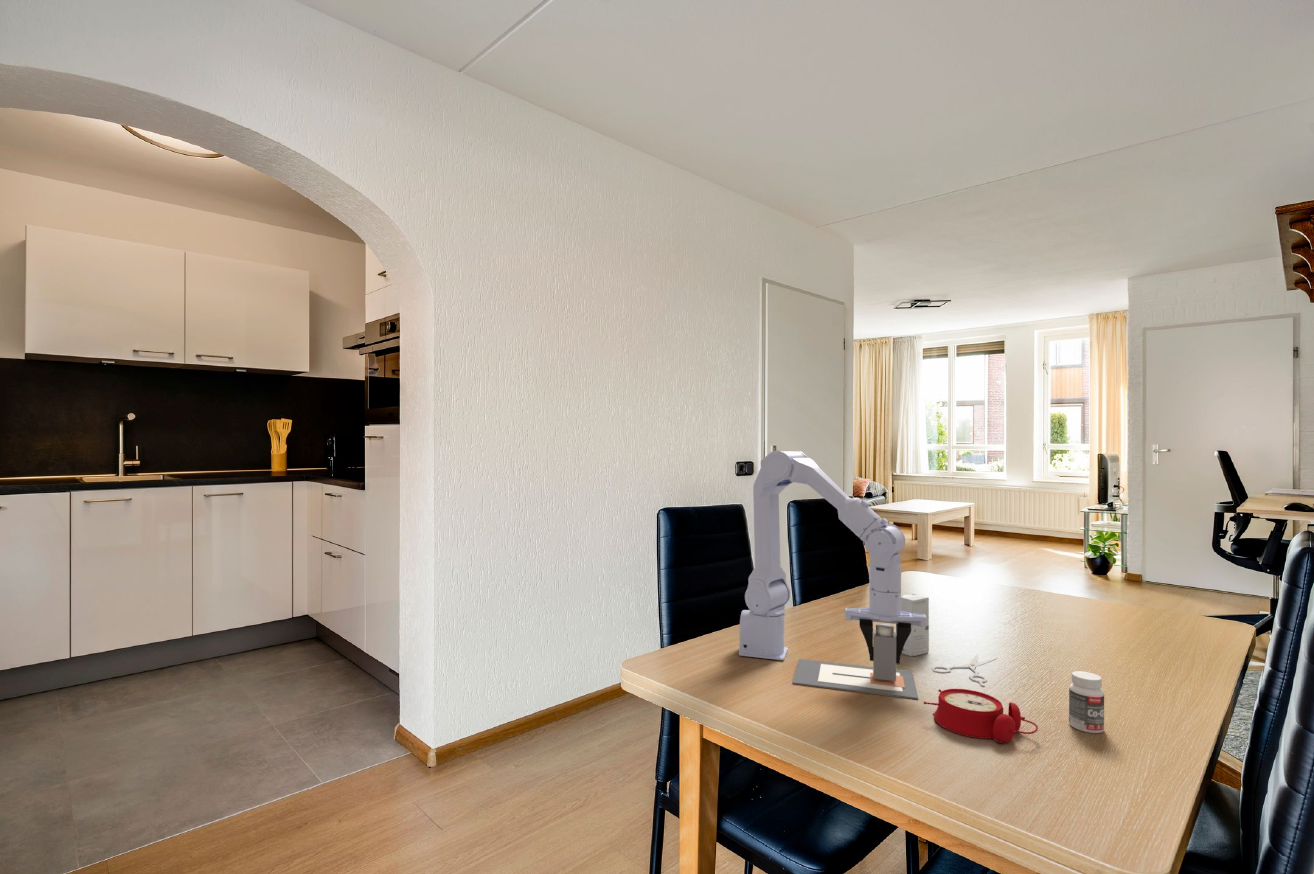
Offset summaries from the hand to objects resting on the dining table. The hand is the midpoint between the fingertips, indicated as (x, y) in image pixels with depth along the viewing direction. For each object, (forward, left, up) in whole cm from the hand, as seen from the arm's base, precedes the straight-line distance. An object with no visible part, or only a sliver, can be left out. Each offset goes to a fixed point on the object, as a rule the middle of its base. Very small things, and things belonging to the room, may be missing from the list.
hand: (884, 660), depth 122 cm
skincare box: (+6, +21, -4) cm, 22 cm away
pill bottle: (+30, -10, -4) cm, 32 cm away
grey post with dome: (0, 0, -3) cm, 3 cm away
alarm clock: (+14, -16, -4) cm, 22 cm away
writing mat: (-6, 0, -4) cm, 7 cm away
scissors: (+17, +15, -5) cm, 24 cm away
